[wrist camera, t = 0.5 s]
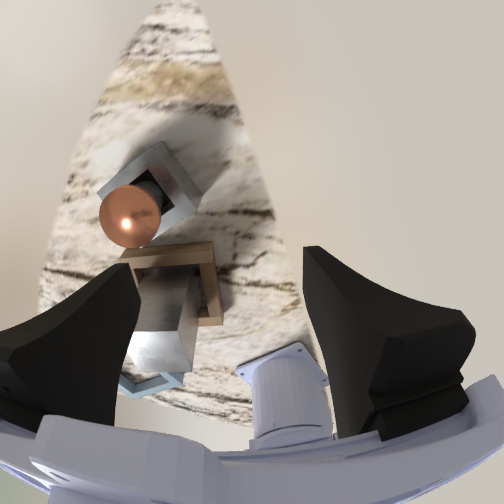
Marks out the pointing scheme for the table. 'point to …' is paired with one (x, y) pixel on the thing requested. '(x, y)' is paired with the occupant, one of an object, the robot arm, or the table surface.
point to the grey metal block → (167, 319)
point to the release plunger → (132, 214)
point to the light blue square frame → (150, 384)
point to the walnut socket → (182, 256)
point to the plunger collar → (161, 184)
